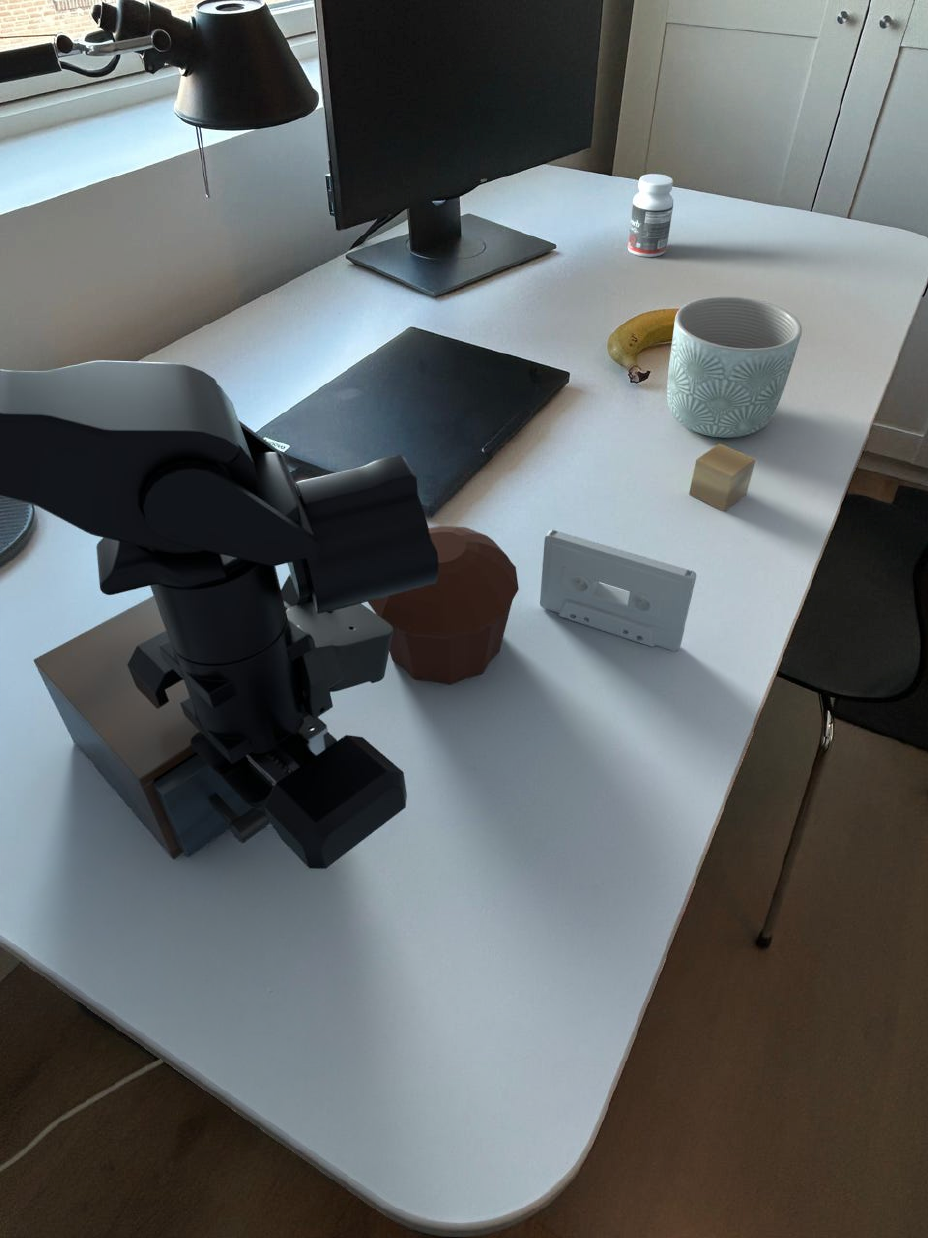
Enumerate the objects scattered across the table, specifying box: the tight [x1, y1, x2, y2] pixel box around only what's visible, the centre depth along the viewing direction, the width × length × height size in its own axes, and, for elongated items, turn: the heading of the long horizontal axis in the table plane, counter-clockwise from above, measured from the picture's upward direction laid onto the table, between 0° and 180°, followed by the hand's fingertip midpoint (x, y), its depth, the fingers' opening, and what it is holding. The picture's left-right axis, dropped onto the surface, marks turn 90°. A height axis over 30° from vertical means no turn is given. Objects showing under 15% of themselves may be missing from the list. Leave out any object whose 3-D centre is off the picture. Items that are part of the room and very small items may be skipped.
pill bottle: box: [627, 173, 674, 258], centre depth 126 cm, size 6×6×10 cm
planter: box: [666, 295, 803, 439], centre depth 92 cm, size 12×12×11 cm
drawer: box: [153, 752, 271, 858], centre depth 58 cm, size 16×10×7 cm, turn 45°
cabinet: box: [33, 595, 199, 860], centre depth 60 cm, size 14×12×9 cm
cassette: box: [539, 529, 697, 652], centre depth 69 cm, size 12×2×8 cm, turn 63°
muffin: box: [367, 525, 520, 686], centre depth 67 cm, size 12×11×10 cm
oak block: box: [688, 443, 757, 512], centre depth 84 cm, size 4×4×4 cm
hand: (285, 817), depth 53 cm, fingers closed, pressing on drawer
